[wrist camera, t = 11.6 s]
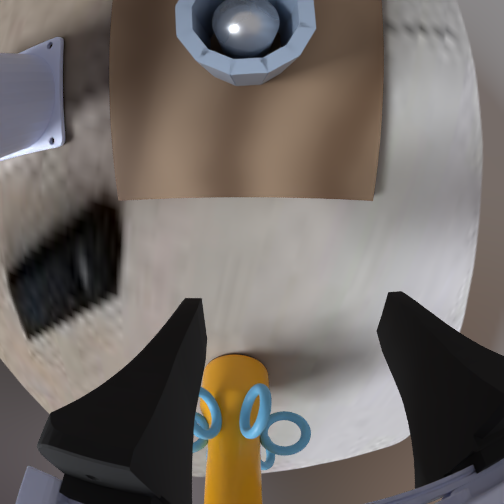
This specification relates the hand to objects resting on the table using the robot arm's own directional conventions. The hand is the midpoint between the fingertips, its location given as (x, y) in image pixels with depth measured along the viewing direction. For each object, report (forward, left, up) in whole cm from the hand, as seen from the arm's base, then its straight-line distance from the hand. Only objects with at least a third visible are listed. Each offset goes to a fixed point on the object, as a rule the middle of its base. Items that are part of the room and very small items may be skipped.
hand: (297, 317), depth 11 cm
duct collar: (-2, +11, -8) cm, 14 cm away
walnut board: (-2, +11, -9) cm, 15 cm away
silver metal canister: (-2, +11, -8) cm, 14 cm away
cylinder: (-3, -15, -10) cm, 18 cm away
